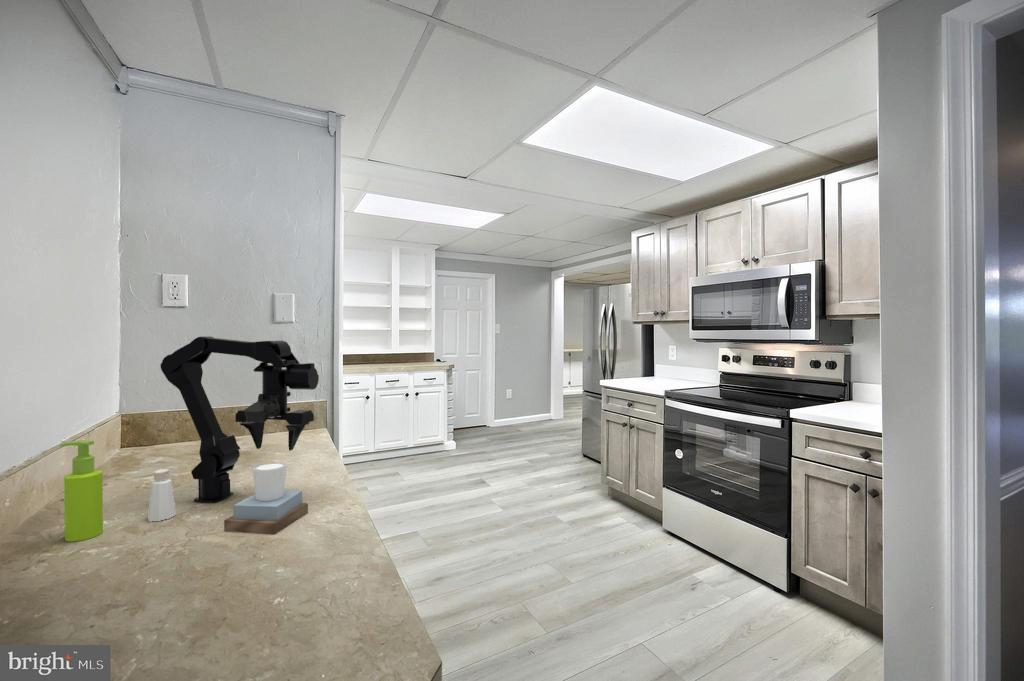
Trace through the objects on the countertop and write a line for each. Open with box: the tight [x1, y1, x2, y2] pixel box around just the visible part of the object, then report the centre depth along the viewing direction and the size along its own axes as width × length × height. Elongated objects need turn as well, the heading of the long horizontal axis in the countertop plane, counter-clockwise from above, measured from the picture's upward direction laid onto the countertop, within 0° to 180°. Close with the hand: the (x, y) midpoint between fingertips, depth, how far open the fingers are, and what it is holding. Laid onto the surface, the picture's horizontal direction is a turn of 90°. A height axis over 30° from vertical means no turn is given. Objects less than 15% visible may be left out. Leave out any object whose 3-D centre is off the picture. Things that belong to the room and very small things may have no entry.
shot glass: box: [252, 462, 288, 501], centre depth 105 cm, size 7×7×7 cm
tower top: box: [232, 490, 303, 520], centre depth 104 cm, size 10×10×3 cm
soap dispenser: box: [59, 440, 104, 543], centre depth 96 cm, size 6×7×20 cm
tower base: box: [223, 502, 309, 535], centre depth 104 cm, size 12×12×3 cm
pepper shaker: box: [147, 468, 177, 523], centre depth 106 cm, size 5×5×11 cm
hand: (274, 449), depth 118 cm, fingers open, 9 cm apart
